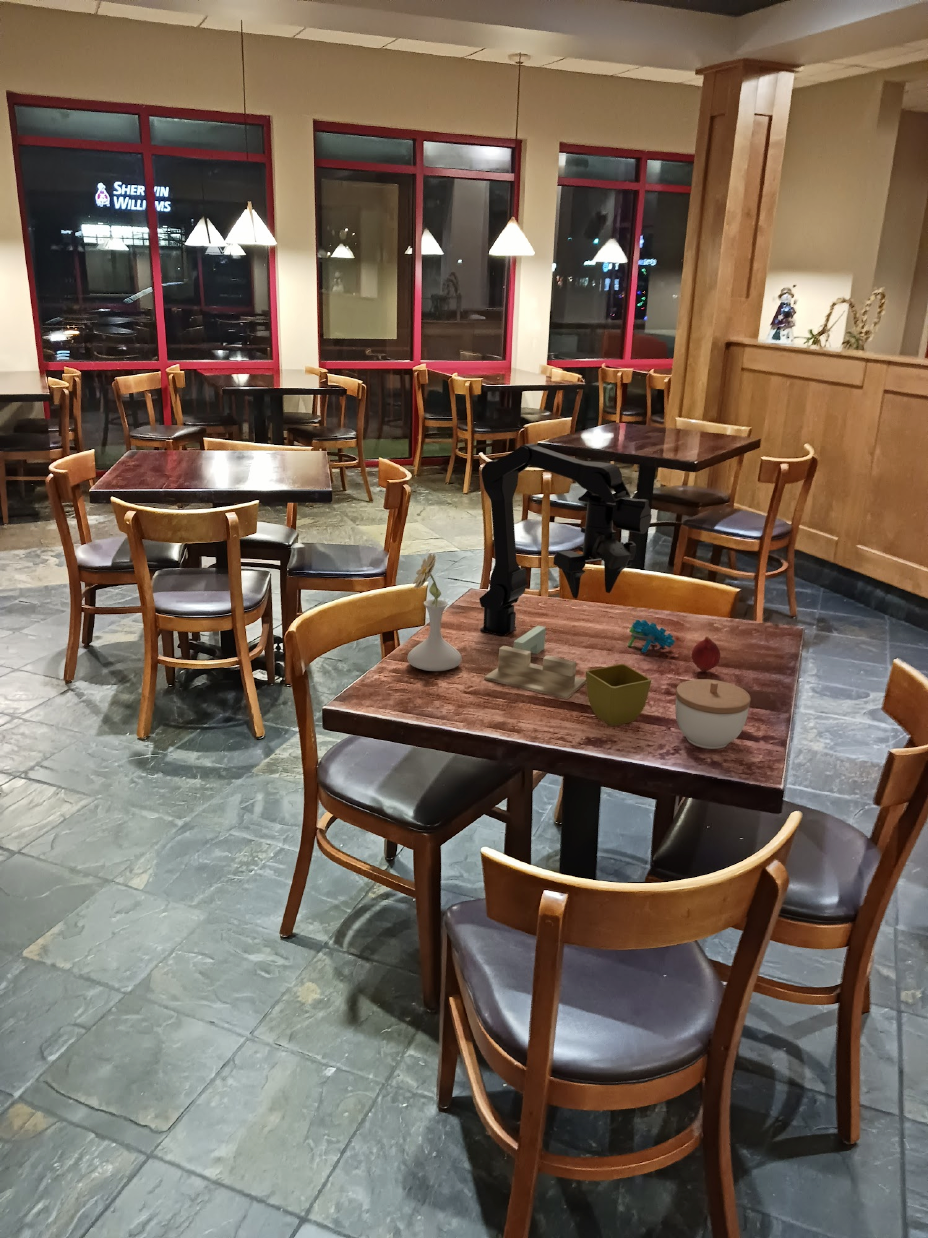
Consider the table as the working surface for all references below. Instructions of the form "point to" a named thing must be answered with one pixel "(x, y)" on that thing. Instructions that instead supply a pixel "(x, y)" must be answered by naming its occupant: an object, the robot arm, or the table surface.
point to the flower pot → (617, 693)
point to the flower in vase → (433, 629)
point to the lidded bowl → (711, 712)
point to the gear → (649, 635)
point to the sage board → (532, 640)
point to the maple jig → (536, 673)
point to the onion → (706, 654)
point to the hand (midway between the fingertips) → (591, 595)
